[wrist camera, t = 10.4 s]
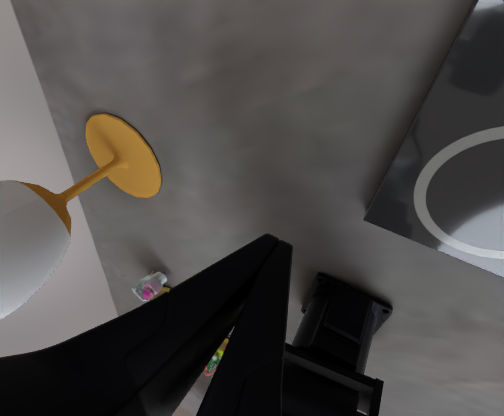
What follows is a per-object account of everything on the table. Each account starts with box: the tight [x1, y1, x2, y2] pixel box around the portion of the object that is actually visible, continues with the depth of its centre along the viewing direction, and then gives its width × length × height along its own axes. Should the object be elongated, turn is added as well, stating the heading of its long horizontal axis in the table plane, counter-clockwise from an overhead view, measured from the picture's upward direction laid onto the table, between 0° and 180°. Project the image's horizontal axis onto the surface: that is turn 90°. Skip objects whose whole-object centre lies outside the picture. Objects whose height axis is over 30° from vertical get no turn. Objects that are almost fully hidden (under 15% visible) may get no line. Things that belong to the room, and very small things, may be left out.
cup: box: [0, 113, 162, 320], centre depth 25 cm, size 9×9×16 cm
